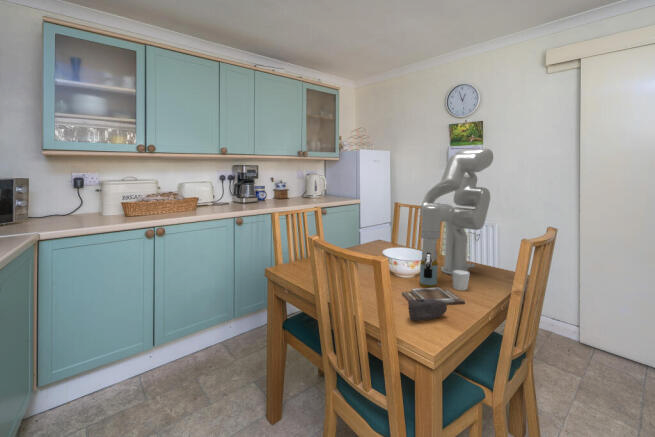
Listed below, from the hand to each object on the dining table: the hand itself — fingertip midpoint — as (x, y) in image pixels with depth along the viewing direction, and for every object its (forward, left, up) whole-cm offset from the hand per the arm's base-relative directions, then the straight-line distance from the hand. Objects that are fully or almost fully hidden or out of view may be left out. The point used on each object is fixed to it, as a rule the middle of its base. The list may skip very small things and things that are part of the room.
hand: (428, 274), depth 135 cm
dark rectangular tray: (+5, +14, -5) cm, 16 cm away
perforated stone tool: (+14, +29, -5) cm, 32 cm away
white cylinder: (-12, +5, -5) cm, 14 cm away
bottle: (0, 0, -5) cm, 5 cm away
